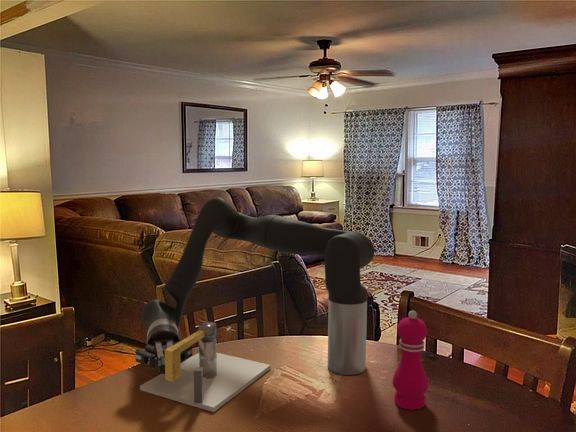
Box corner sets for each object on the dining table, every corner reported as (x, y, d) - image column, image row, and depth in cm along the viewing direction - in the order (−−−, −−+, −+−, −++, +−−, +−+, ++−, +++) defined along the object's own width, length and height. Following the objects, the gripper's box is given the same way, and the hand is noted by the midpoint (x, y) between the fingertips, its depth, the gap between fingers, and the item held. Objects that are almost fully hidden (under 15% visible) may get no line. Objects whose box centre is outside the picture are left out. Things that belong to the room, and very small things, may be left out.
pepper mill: (428, 413, 99) (432, 317, 97) (392, 409, 101) (394, 315, 98) (426, 396, 106) (429, 306, 104) (391, 393, 108) (394, 304, 105)
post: (206, 369, 117) (206, 335, 116) (220, 373, 115) (219, 338, 114) (196, 376, 113) (195, 341, 112) (210, 380, 112) (209, 344, 110)
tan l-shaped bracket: (205, 349, 116) (204, 321, 115) (219, 351, 115) (219, 323, 114) (160, 379, 101) (159, 346, 100) (177, 382, 99) (176, 349, 98)
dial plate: (204, 353, 129) (203, 323, 128) (270, 368, 120) (270, 337, 119) (138, 390, 108) (137, 356, 108) (212, 413, 99) (211, 375, 98)
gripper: (133, 326, 115) (131, 355, 99) (191, 321, 119) (198, 348, 102) (134, 356, 116) (132, 390, 100) (191, 350, 120) (198, 383, 103)
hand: (165, 369), depth 101 cm, fingers closed
